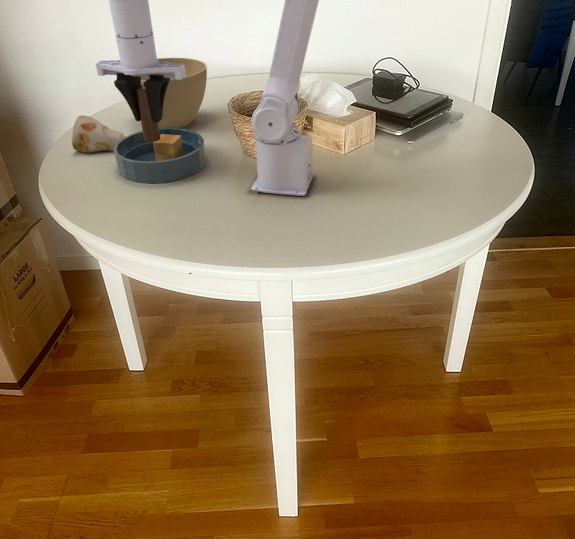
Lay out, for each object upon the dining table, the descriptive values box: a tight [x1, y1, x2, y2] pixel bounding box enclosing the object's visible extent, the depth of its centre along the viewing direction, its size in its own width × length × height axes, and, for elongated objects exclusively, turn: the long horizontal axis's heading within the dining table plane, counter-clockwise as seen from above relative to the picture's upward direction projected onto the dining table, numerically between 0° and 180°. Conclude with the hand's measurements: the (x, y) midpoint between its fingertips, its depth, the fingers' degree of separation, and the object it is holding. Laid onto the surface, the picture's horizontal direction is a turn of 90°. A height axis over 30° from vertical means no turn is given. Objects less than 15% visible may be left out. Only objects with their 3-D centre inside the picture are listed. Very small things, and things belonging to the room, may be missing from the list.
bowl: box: [112, 128, 207, 184], centre depth 98 cm, size 16×16×4 cm
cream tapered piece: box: [71, 115, 126, 154], centre depth 104 cm, size 8×10×10 cm
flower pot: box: [141, 57, 208, 129], centre depth 114 cm, size 18×18×12 cm
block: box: [153, 134, 184, 161], centre depth 100 cm, size 4×4×4 cm
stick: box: [135, 84, 160, 142], centre depth 89 cm, size 3×3×9 cm
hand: (149, 119), depth 90 cm, fingers closed on stick, 3 cm apart
